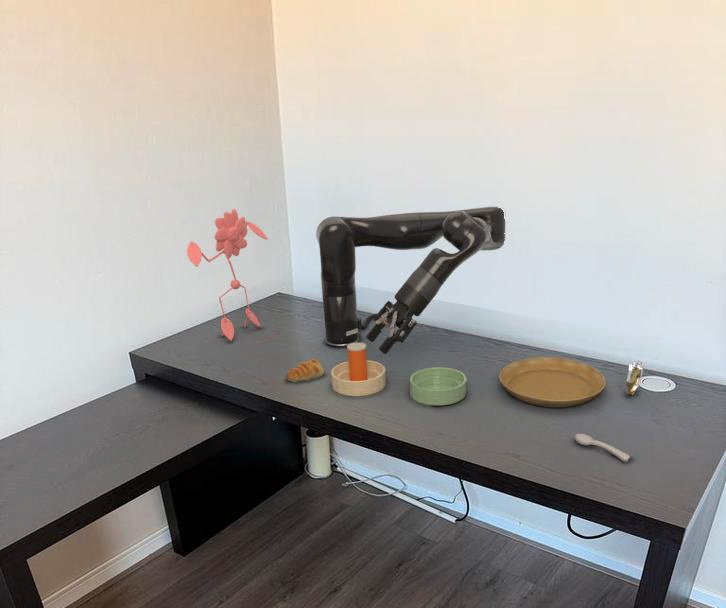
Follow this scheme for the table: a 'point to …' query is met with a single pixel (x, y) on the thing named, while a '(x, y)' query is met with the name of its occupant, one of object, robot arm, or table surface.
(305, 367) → the pastry
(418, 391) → the sage bowl
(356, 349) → the cracker tube
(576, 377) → the plant saucer
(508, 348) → the table surface
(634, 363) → the ring
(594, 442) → the spoon
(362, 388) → the oatmeal bowl
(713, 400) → the table surface
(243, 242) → the figurine
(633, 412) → the table surface
